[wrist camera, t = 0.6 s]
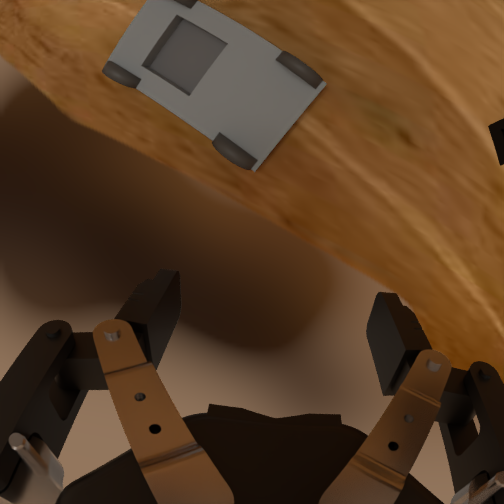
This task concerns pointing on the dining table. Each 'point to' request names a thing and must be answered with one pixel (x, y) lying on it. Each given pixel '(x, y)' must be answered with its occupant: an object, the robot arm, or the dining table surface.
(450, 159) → the dining table surface
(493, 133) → the black block
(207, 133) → the chassis
